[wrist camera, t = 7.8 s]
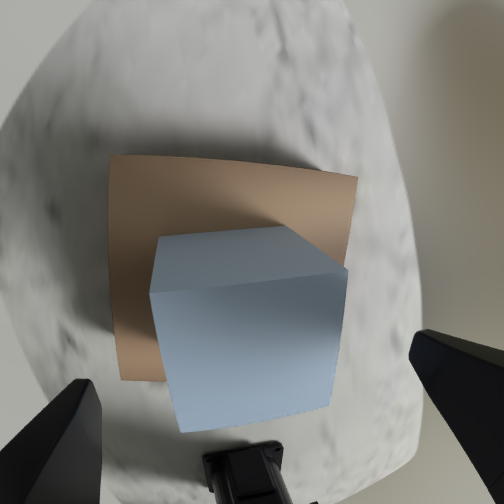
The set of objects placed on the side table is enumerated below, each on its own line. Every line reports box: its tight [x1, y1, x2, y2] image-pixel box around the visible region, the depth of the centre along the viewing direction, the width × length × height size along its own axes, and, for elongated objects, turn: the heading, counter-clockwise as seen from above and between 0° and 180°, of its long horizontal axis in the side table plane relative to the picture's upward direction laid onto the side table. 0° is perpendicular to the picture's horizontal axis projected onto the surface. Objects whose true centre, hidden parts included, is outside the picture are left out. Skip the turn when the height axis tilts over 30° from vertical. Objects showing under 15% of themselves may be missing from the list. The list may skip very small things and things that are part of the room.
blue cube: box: [149, 226, 348, 433], centre depth 11 cm, size 5×5×5 cm
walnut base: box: [108, 155, 358, 382], centre depth 15 cm, size 10×10×4 cm
